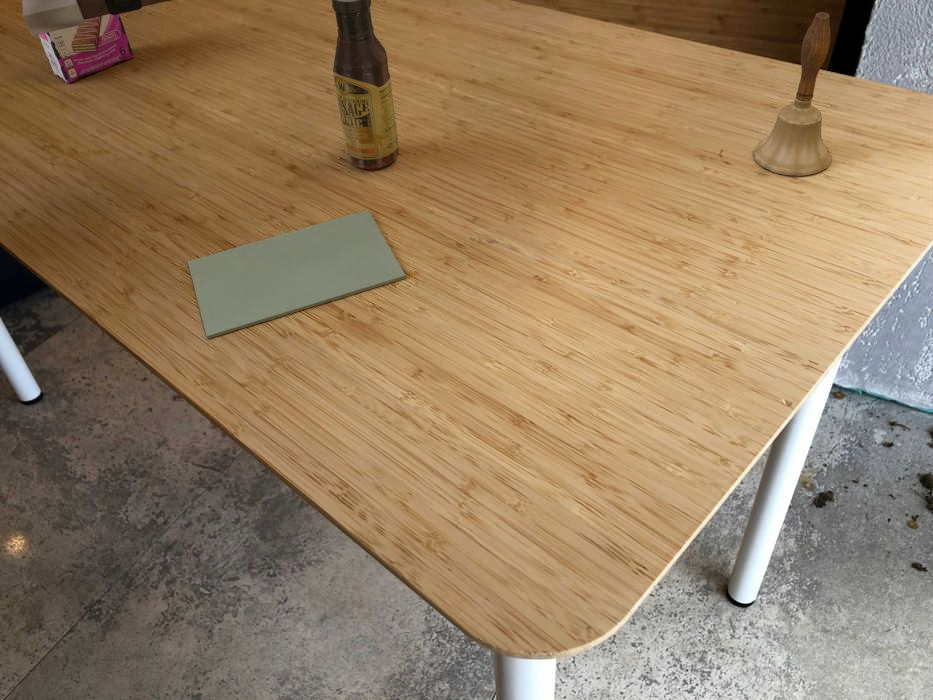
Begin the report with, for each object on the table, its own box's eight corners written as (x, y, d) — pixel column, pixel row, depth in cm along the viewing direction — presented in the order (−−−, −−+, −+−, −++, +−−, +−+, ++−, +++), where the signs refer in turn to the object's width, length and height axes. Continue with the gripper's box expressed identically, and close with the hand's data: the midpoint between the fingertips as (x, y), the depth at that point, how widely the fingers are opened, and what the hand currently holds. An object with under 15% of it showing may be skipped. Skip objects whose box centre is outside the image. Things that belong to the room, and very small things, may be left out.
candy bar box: (69, 85, 124) (19, -30, 113) (54, 76, 127) (4, -38, 116) (137, 57, 129) (96, -56, 118) (122, 49, 132) (80, -62, 121)
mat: (207, 339, 81) (206, 336, 80) (188, 264, 90) (187, 261, 89) (406, 278, 85) (405, 275, 85) (368, 212, 94) (368, 209, 94)
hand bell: (764, 132, 99) (789, -6, 88) (839, 146, 96) (874, 4, 85) (743, 167, 94) (766, 26, 83) (820, 183, 91) (855, 38, 80)
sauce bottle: (338, 162, 102) (303, -5, 89) (376, 140, 105) (348, -24, 92) (374, 179, 99) (344, 8, 85) (413, 156, 102) (389, -12, 88)
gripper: (99, -204, 67) (173, 24, 80) (85, -233, 79) (152, -30, 92) (1, -187, 66) (92, 43, 78) (1, -219, 77) (80, -15, 90)
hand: (123, 1), depth 85 cm, fingers closed on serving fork, 3 cm apart
